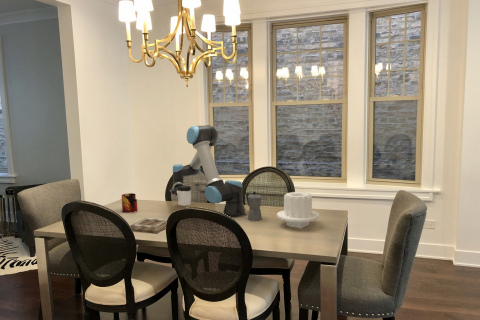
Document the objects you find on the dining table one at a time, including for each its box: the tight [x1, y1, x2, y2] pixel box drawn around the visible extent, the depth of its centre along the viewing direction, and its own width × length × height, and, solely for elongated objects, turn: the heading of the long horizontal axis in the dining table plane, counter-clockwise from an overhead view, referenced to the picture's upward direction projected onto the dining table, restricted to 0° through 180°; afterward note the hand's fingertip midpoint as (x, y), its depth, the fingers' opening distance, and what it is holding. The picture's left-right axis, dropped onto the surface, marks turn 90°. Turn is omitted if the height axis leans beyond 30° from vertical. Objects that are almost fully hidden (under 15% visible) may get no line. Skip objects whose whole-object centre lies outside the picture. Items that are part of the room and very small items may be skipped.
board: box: [129, 217, 168, 234], centre depth 233 cm, size 22×22×3 cm
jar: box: [177, 185, 192, 206], centre depth 251 cm, size 9×8×12 cm
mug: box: [121, 192, 138, 214], centre depth 272 cm, size 10×14×12 cm
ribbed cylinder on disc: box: [276, 191, 320, 229], centre depth 228 cm, size 25×25×19 cm
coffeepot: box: [246, 191, 263, 222], centre depth 245 cm, size 15×9×18 cm, turn 33°
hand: (180, 194), depth 248 cm, fingers closed on jar, 2 cm apart
